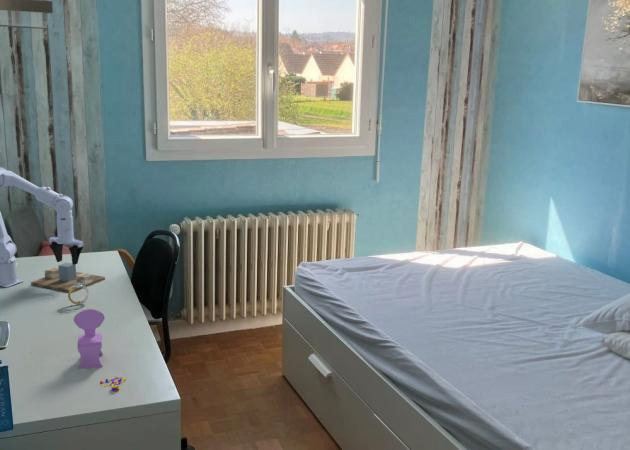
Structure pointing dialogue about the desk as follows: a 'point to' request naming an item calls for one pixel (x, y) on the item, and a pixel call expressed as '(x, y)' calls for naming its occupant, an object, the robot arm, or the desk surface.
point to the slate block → (67, 272)
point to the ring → (74, 289)
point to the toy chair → (89, 337)
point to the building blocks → (114, 386)
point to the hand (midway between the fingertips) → (67, 262)
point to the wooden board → (53, 281)
